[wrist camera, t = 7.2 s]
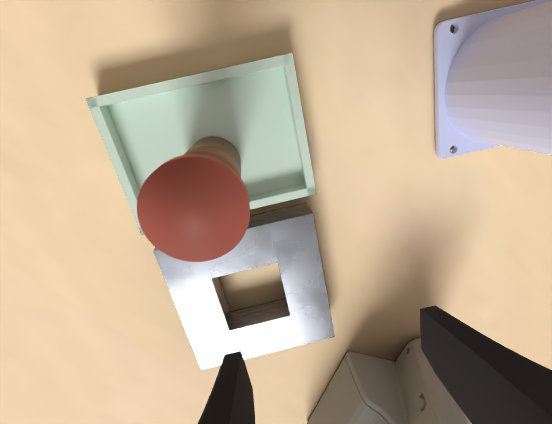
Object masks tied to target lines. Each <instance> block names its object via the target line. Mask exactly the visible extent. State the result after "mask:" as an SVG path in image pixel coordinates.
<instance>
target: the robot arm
mask: <svg viewBox="0 0 552 424" xmlns="http://www.w3.org/2000/svg"><path fill="white" fill-rule="evenodd" d="M451 25H453V26H454V32H453V33H451V32H450V27H451ZM434 67H435V130H436V155H437V156H438V157H440V158H443V159H446V158H450V157H455V156H459V155H463V154H467V153H472V152H476V151H480V150H484V149H489V148H493V147H497V146H505V147H510V148H515V149H520V150H525V151H530V152H536V153H541V154H546V155H551V156H552V0H535V1H530V2H526V3H521V4H517V5H512V6H508V7H503V8H499V9H494V10H490V11H485V12H481V13H476V14H472V15H467V16H463V17H458V18H454V19H449V20H445V21H442V22H440V23H438V25H437V26H436V27H435V30H434ZM452 146H454V149H453V151H452V152H450V148H451V147H452ZM420 325H421V349H422V351H423V353H424V355H425V356H426V358H427V360H428V362H429V363H430V365H431V367H432V369H433V370H434V372H435V374H436V375H437V377H438V378H439V379H440V381H441V382H442V384H443V385H444V386H445V388H446V389H447V391H448V392H449V393H450V395H451V396H452V397H453V399H454V400H455V402H456V403H457V404H458V406H459V407H460V408H461V410H462V411H463V413H464V414H465V415H466V417H467V418H468V419H469V421H470V422H471V423H472V424H552V370H550V369H548V368H546V367H544V366H541V365H539V364H537V363H535V362H533V361H531V360H529V359H527V358H525V357H523V356H521V355H519V354H518V353H516V352H514V351H512V350H510V349H508V348H506V347H504V346H502V345H501V344H499V343H497V342H495V341H493V340H492V339H490V338H488V337H486V336H485V335H483V334H481V333H480V332H478V331H476V330H475V329H473V328H471V327H470V326H468V325H466V324H465V323H463V322H461V321H460V320H458V319H456V318H455V317H453V316H452V315H450V314H448V313H447V312H445V311H443V310H442V309H440V308H438V307H437V306H431V307H427V308H422V309H420ZM198 424H255V411H254V399H253V389H252V385H251V382H250V379H249V375H248V372H247V369H246V366H245V362H244V359H243V356H242V353H241V351H238V352H233V353H229V354H225V356H224V357H223V360H222V364H221V367H220V370H219V373H218V376H217V378H216V381H215V384H214V386H213V389H212V392H211V394H210V396H209V399H208V401H207V404H206V406H205V409H204V411H203V413H202V415H201V418H200V420H199V422H198Z"/></svg>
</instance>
